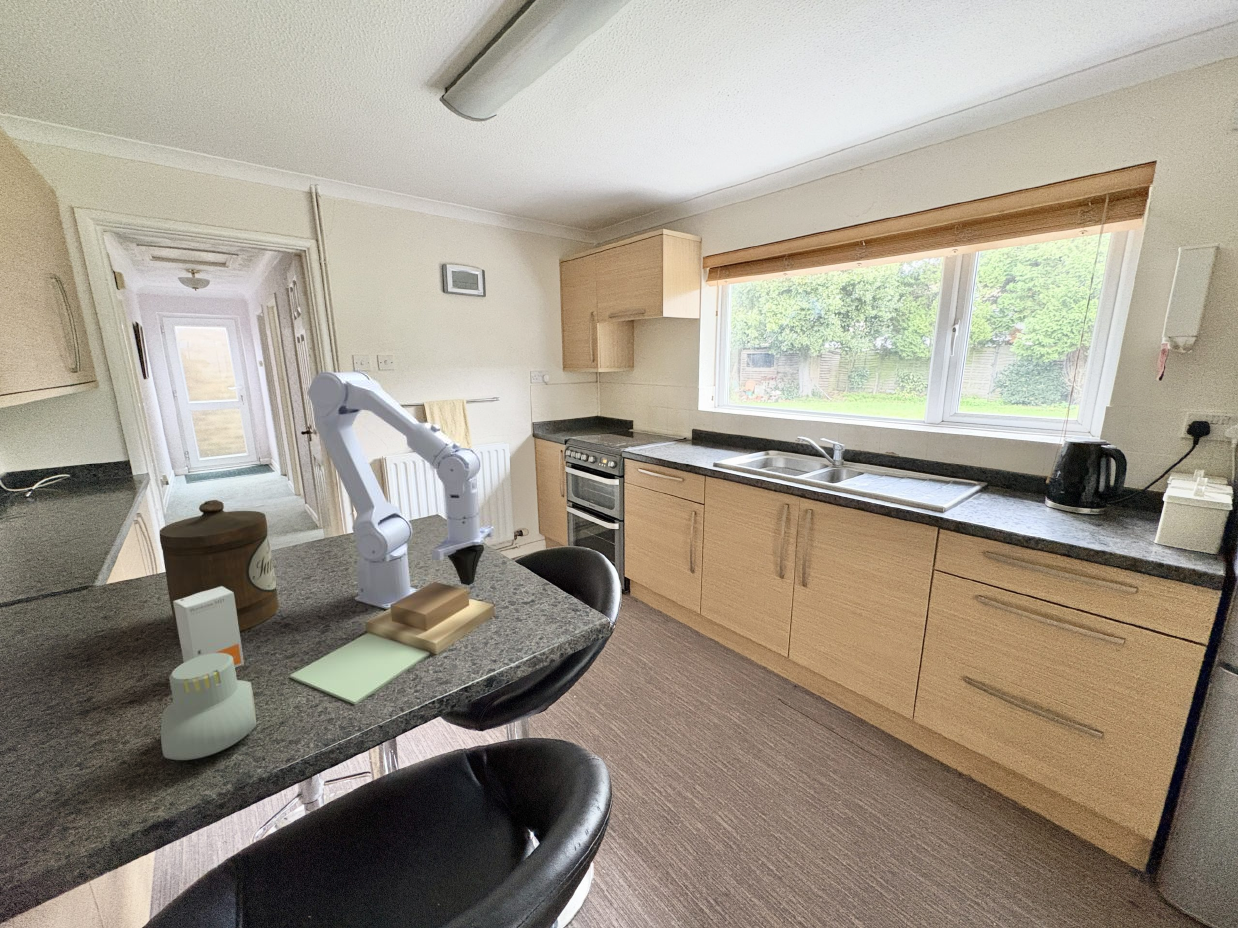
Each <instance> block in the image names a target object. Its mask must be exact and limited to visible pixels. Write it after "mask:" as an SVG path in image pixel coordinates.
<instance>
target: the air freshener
mask: <svg viewBox="0 0 1238 928" xmlns="http://www.w3.org/2000/svg"><path fill="white" fill-rule="evenodd" d="M236 673H237V672H236V668H235V666H234V661H233V657H232V656H231V655H228V654H225V653H212V654H206V655H202V656H199V657H196V658H193V659H191V660H189V661H186V662H185V663H184V662H183V663H181V664H180V665H178V666H177V667H175V669H173V670H172V671H171V673H170V674H169V676H168V677H169V678H168V679H169V684H170V690H171V695H172V701H173V702H171V704H169V705H168V706H166V708H164V710H163V712H162V715H161V725H160V727H161V728H160V742H161V750H162V754H163V757H164V758H166V759H169V760H175V761H189V760H196V759H201V758H204V757H208V756H211V755H215V754H217V753H219V752H222V751H224V750H226V749H228V748H230V747H232V746H233V745H235V744H236V743H238V742H239V741H241V740H242V739H243V738H245V737H246V736H247V735H248V734H250V733H251V731H253V730H254V728H256V726H257V717H256V716H257V714H256V707H255V700H254V699H255V698H254V692H253V686H252V683H251V682H250V681H246V680H239V679H238V678H237V674H236Z"/></svg>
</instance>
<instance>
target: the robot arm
mask: <svg viewBox="0 0 1238 928" xmlns="http://www.w3.org/2000/svg"><path fill="white" fill-rule="evenodd" d="M306 394H307V395H308V397H309V400H310V401H311V404H312V407H313V412H314V413H313V414H314V424H315V428H316V430H317V433H318V435H319V437H320V438H321V441H322V442H323V443H322V444H323V445H324V447H325V449H326V451H327V453H328V455H329V458H330V460H331V462H332V463H333V466H334V469H335V470H336V472H337V474H338V476H339V479H340V481H341V483H342V484H343V487H344V489H345V491H346V493H347V495H348V497H349V500H350V501H351V504H352V506H353V508H354V510H355V512H356V516H355V519H354V521H353V523H352V524H353V525H352V527H351V528H352V531H353V533H354V536H355V548H356V550H357V552H358V554H359V555H360V556H359V557H358V559H357V561H356V565H355V574H356V582H357V583H356V584H357V593H358V595H357V596H355V597H354V600H355V601H358V602H360V603H361V602H362V603H364V604H368V605H371V606H374V607H378V608H383V609H385V610H388V609H390V608H391V607H390V605H391V604H393V603H395V602H397V601H399V600H401V599H403V598H404V597H406V596H408V595H410V594H412V593H414V592H416V591H418V590H419V589H418V588H417V589H416V588H413V587H411V579H410V569H409V560H408V559H409V557H408V547H409V546H408V542H409V541H410V540H411V538H412V536H413V526H412V524H411V522H410V521H409V519H408V518H406V517H405V516H404V515H403V514H402V512H401V511H400V509H399V507H398V506H396V505H395V504H392V503H390V502H389V501H387V499H386V497H385V494H384V492H383V490H382V487H381V486H380V484H379V482H378V479H377V477H376V475H375V473H374V472H373V469H372V467H371V464H370V462H369V459H368V458H367V457H366V453H365V451H364V450H363V447H362V446H361V443H360V441H359V439H358V437H357V435H356V432H355V430H354V428H353V424H354V422H355V421H356V418H357V416H358V415H359V414H360V412H362V411H369V412H371V413H372V414H374V415H375V416H377V417H378V418H379V419H381V420H383V421H384V422H385V423H387V424H388V425H390V427H392V428H393V429H395V430H396V431H398V432H399V433H400V434H402V435H403V436H405V438H406V444H407V447H408V448H409V449H411V450H412V451H414V453H416V454H417V455H418V456H419V457H421V458H422V459H423V460H424V461H426V462H427V463H428V464H430V466H432V467H433V468H435V469H436V475H437V477H438V479H439V480H440V482H441V483H442V484H443V490H444V498H445V501H444V502H445V513H446V514H445V515H446V527H447V538H446V539H444V540H443V541H442V542H440V543H439V544H438V545H436V546H435V547H433V548H431V549H430V551H431V560H433V561H439V562H441V561H444V560H445V557H447V558H449V560H450V562H451V563H452V565H453V567H454V569H455V571H456V573H457V575H458V576H457V577H458V578H459V581H460V584H462V585H466V586H471V585H473V584H475V579H476V578H475V577H476V574H477V573H476V572H477V569H478V565H479V562H480V559H481V556H482V555H483V553H484V551H485V545H483V543H484V541H485V540H484V539H487V538H492V537H494V536H495V534H494V526H490V525H484V526H481V527H480V516H479V499H478V485H477V474H478V473H479V471H480V469H481V460H480V458H479V456H478V455H477V453H475V451H474V450H473V449H471V448H470V447H469V448H468V447H462V445H461V444H460V443H459V442H454V441H453V440H452V439H451V438H450V437H448V436H447V435H446V434H444V433H443V432H442V431H441V429H442V427H440V426H439V425H438V424H437V423H435V424H432V423H430V422H419V420H417V419H416V418H415V417H414V416H413V415H411V414H410V413H409V412H408V411H407V410H406V409H405V408H404V407H402V406H401V405H400V403H398V402H397V401H396V400H395V399H394V398H393V397H392V396H390V395H389V394H388V392H386V391H385V390H384V389H383V387H381V384H380V382H378V381H377V380H375V379H372V378H371V377H370V376H369V375H368V374H367V373H366V372H363V371H360V370H359V371H358V370H354V371H344V372H343V371H342V372H341V371H340V372H332V371H322V372H319V373H317V374H316V375H315V376H314V377H313V378H312V382H311V383H310V385H309V388H308V390H307V393H306Z"/></svg>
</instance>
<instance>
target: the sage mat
mask: <svg viewBox="0 0 1238 928" xmlns="http://www.w3.org/2000/svg"><path fill="white" fill-rule="evenodd" d="M430 654H431V653H430V652H427V651H424V650H421V649H417V648H414V647H411V646H408V645H405V644H402V643H399V642H396V641H392V640H389V639H386V638H383V637H380V636H377V635H374V634H371V633H368V632H366V633H364V634H363V635H361V636H359V637H357V638H356V639H354V640H352V641H350V642H348V643H346V644H345V645H343V646H341V647H339V648H337V649H336V650H333V651H332V652H330V653H328V654H326V655H324V656H323V657H321V658H319V659H317V660H315V661H313V662H311V663H309V664H308V665H306V666H304V667H303V668H301V669H299V670H297V671H295V672H293V673H291V674H290V675H289V678H290V679H291V680H292V679H293V680H294V681H296V682H299V683H302V684H304V685H306V686H309V687H312V688H314V689H316V690H319V691H321V692H322V693H323V692H324V693H326V694H329V695H331V696H333V697H336V698H338V699H340V700H343V701H345V702H348V703H351V704H352V705H355V706H356V705H357V704H359V703H360V702H362V701H364V700H365V699H366V698H368V697H370V696H371V695H373V694H374V693H375V692H377V691H378V690H379V689H381V688H383V687H384V686H385V685H387V684H389V683H391V682H392V681H393V680H394V679H396V678H398V677H399V676H400V675H402V674H404V673H405V672H406V671H409V669H411V668H412V667H414V666H415V665H418V663H420V662H421V661H422V660H424V659H426V658H427V657H429V656H430Z"/></svg>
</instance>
